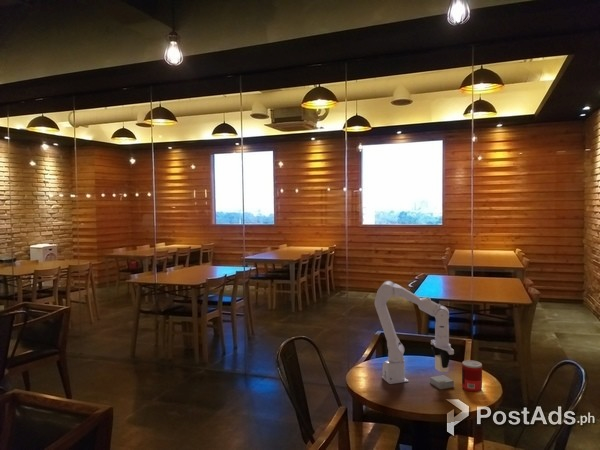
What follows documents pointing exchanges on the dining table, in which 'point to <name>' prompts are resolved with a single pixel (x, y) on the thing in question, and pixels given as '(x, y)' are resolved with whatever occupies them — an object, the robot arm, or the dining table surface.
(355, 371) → the dining table surface
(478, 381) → the canned food
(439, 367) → the cream block
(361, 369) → the dining table surface
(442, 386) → the grey square block
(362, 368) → the dining table surface
